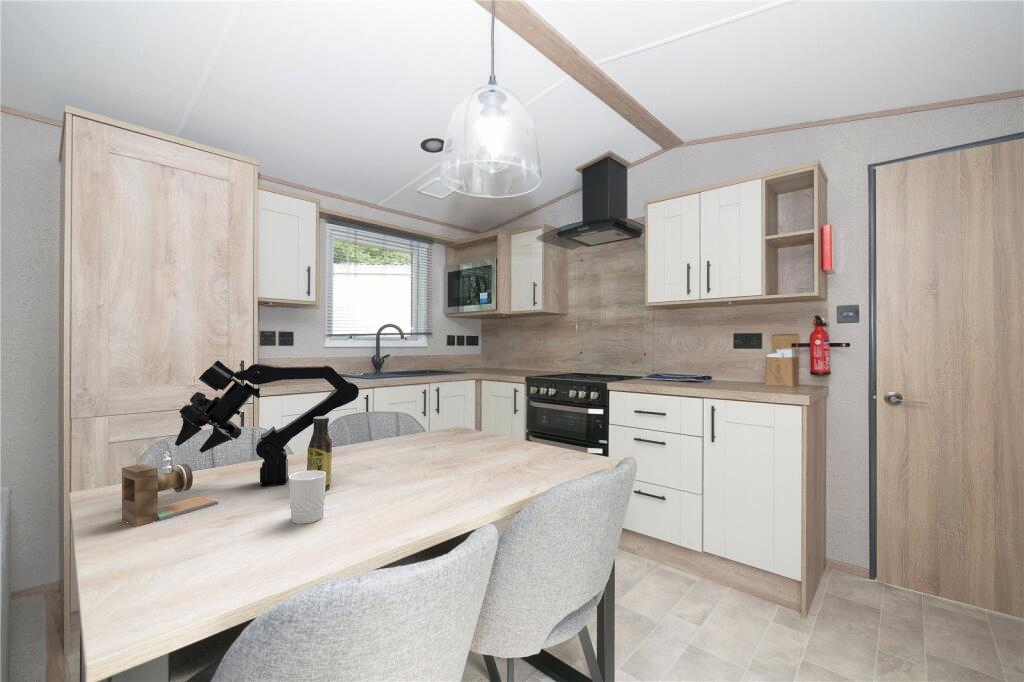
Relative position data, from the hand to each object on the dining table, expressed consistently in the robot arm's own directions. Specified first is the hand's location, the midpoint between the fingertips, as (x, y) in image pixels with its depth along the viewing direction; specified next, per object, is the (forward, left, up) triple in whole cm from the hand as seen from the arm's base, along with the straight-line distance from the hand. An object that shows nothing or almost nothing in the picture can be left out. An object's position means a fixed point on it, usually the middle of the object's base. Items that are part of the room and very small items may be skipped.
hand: (188, 448), depth 125 cm
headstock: (+3, +19, -12) cm, 23 cm away
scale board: (-3, +13, -12) cm, 18 cm away
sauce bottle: (-33, +6, -12) cm, 36 cm away
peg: (-1, +15, -8) cm, 17 cm away
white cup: (-33, +28, -12) cm, 45 cm away
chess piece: (+8, -7, -12) cm, 16 cm away
